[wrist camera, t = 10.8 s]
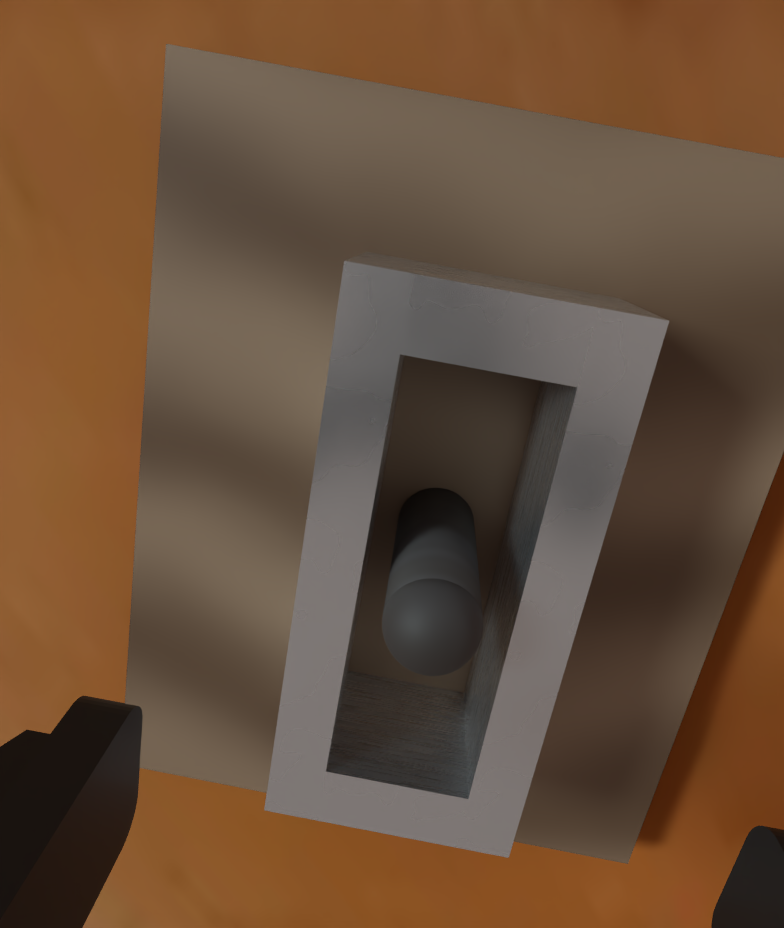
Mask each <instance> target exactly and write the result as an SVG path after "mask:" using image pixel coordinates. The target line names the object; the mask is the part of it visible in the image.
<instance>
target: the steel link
mask: <svg viewBox="0 0 784 928" xmlns="http://www.w3.org/2000/svg"><path fill="white" fill-rule="evenodd" d="M668 324H669V320H667V319H664V318H662V317H660V316H658V315H655V314H653V313H651V312H649V311H646V310H644V309H642V308H640V307H637V306H635V305H633V304H631V303H628V302H626V301H624V300H622V299H619V298H615V297H609V296H604V295H598V294H593V293H588V292H582V291H577V290H571V289H566V288H560V287H555V286H550V285H544V284H539V283H533V282H528V281H522V280H517V279H512V278H506V277H501V276H495V275H490V274H484V273H479V272H474V271H468V270H463V269H457V268H452V267H447V266H441V265H436V264H430V263H425V262H419V261H414V260H409V259H403V258H398V257H392V256H387V255H381V254H376V253H371V252H366V253H363V254H360V255H358V256H355V257H353V258H350V259H347V260H345V261H344V266H343V273H342V279H341V286H340V293H339V300H338V307H337V314H336V321H335V328H334V334H333V341H332V348H331V355H330V362H329V369H328V376H327V383H326V389H325V396H324V403H323V410H322V417H321V424H320V431H319V438H318V445H317V451H316V458H315V465H314V472H313V479H312V486H311V493H310V500H309V506H308V513H307V520H306V527H305V534H304V541H303V548H302V555H301V561H300V568H299V575H298V582H297V589H296V596H295V603H294V610H293V616H292V623H291V630H290V637H289V644H288V651H287V658H286V665H285V671H284V678H283V685H282V692H281V699H280V706H279V713H278V720H277V727H276V733H275V740H274V747H273V754H272V761H271V768H270V775H269V782H268V788H267V795H266V802H265V809H264V810H266V811H271V812H276V813H281V814H286V815H292V816H297V817H302V818H307V819H312V820H317V821H322V822H328V823H333V824H338V825H343V826H348V827H353V828H358V829H364V830H369V831H374V832H379V833H384V834H389V835H394V836H400V837H405V838H410V839H415V840H420V841H425V842H430V843H436V844H441V845H446V846H451V847H456V848H461V849H467V850H472V851H477V852H482V853H487V854H492V855H497V856H503V857H508V858H509V855H510V851H511V848H512V845H513V841H514V838H515V835H516V831H517V828H518V825H519V821H520V818H521V815H522V811H523V808H524V805H525V801H526V798H527V795H528V791H529V788H530V785H531V781H532V778H533V774H534V771H535V768H536V764H537V761H538V758H539V754H540V751H541V748H542V744H543V741H544V738H545V734H546V731H547V728H548V724H549V721H550V718H551V714H552V711H553V708H554V704H555V701H556V698H557V694H558V691H559V688H560V684H561V681H562V678H563V674H564V671H565V668H566V664H567V661H568V658H569V654H570V651H571V648H572V644H573V641H574V638H575V634H576V631H577V628H578V624H579V621H580V618H581V614H582V611H583V607H584V604H585V601H586V597H587V594H588V591H589V587H590V584H591V581H592V577H593V574H594V571H595V567H596V564H597V561H598V557H599V554H600V551H601V547H602V544H603V541H604V537H605V534H606V531H607V527H608V524H609V521H610V517H611V514H612V511H613V507H614V504H615V501H616V497H617V494H618V491H619V487H620V484H621V481H622V477H623V474H624V471H625V467H626V464H627V461H628V457H629V454H630V450H631V447H632V444H633V440H634V437H635V434H636V430H637V427H638V424H639V420H640V417H641V414H642V410H643V407H644V404H645V400H646V397H647V394H648V390H649V387H650V384H651V380H652V377H653V374H654V370H655V367H656V364H657V360H658V357H659V354H660V350H661V347H662V344H663V340H664V337H665V334H666V330H667V327H668ZM405 355H406V356H411V357H417V358H422V359H427V360H433V361H438V362H444V363H449V364H454V365H460V366H465V367H470V368H476V369H481V370H487V371H492V372H497V373H503V374H508V375H513V376H519V377H524V378H530V379H535V380H540V381H541V384H540V389H539V393H538V397H537V401H536V405H535V409H534V413H533V417H532V421H531V425H530V429H529V433H528V437H527V441H526V445H525V449H524V453H523V457H522V461H521V465H520V469H519V473H518V478H517V482H516V486H515V490H514V494H513V498H512V502H511V506H510V510H509V514H508V518H507V522H506V526H505V530H504V534H503V538H502V542H501V546H500V550H499V554H498V558H497V562H496V567H495V571H494V575H493V579H492V583H491V587H490V591H489V595H488V599H487V603H486V607H485V611H484V615H483V633H482V638H481V641H480V644H479V647H478V649H477V651H476V652H475V654H474V655H473V660H472V664H471V668H470V672H469V676H468V680H467V684H466V688H465V692H464V693H463V692H458V691H452V690H447V689H442V688H437V687H431V686H426V685H421V684H416V683H411V682H405V681H400V680H395V679H390V678H385V677H379V676H374V675H369V674H364V673H358V672H353V671H348V667H349V662H350V656H351V651H352V645H353V640H354V634H355V629H356V623H357V618H358V612H359V606H360V601H361V595H362V590H363V584H364V579H365V573H366V568H367V562H368V556H369V551H370V545H371V540H372V534H373V529H374V523H375V518H376V512H377V507H378V501H379V495H380V490H381V484H382V479H383V473H384V468H385V462H386V457H387V451H388V446H389V440H390V434H391V429H392V423H393V418H394V412H395V407H396V401H397V396H398V390H399V384H400V379H401V373H402V368H403V362H404V357H405Z"/></svg>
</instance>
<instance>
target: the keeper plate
mask: <svg viewBox="0 0 784 928" xmlns="http://www.w3.org/2000/svg"><path fill="white" fill-rule="evenodd" d="M366 252H371V253H376V254H381V255H387V256H392V257H398V258H403V259H409V260H414V261H419V262H425V263H430V264H436V265H441V266H447V267H452V268H457V269H463V270H468V271H474V272H479V273H484V274H490V275H495V276H501V277H506V278H512V279H517V280H522V281H528V282H533V283H539V284H544V285H550V286H555V287H560V288H566V289H571V290H577V291H582V292H588V293H593V294H598V295H604V296H609V297H615V298H619V299H622V300H624V301H626V302H628V303H631V304H633V305H635V306H637V307H640V308H642V309H644V310H646V311H649V312H651V313H653V314H655V315H658V316H660V317H662V318H664V319H667V320H669V324H668V327H667V330H666V334H665V337H664V340H663V344H662V347H661V350H660V354H659V357H658V360H657V364H656V367H655V370H654V374H653V377H652V380H651V384H650V387H649V390H648V394H647V397H646V400H645V404H644V407H643V410H642V414H641V417H640V420H639V424H638V427H637V430H636V434H635V437H634V440H633V444H632V447H631V450H630V454H629V457H628V461H627V464H626V467H625V471H624V474H623V477H622V481H621V484H620V487H619V491H618V494H617V497H616V501H615V504H614V507H613V511H612V514H611V517H610V521H609V524H608V527H607V531H606V534H605V537H604V541H603V544H602V547H601V551H600V554H599V557H598V561H597V564H596V567H595V571H594V574H593V577H592V581H591V584H590V587H589V591H588V594H587V597H586V601H585V604H584V607H583V611H582V614H581V618H580V621H579V624H578V628H577V631H576V634H575V638H574V641H573V644H572V648H571V651H570V654H569V658H568V661H567V664H566V668H565V671H564V674H563V678H562V681H561V684H560V688H559V691H558V694H557V698H556V701H555V704H554V708H553V711H552V714H551V718H550V721H549V724H548V728H547V731H546V734H545V738H544V741H543V744H542V748H541V751H540V754H539V758H538V761H537V764H536V768H535V771H534V774H533V778H532V781H531V785H530V788H529V791H528V795H527V798H526V801H525V805H524V808H523V811H522V815H521V818H520V821H519V825H518V828H517V831H516V835H515V838H514V841H515V842H520V843H525V844H530V845H535V846H540V847H545V848H550V849H555V850H560V851H566V852H571V853H576V854H581V855H586V856H591V857H596V858H601V859H606V860H611V861H616V862H621V863H627V864H628V862H629V859H630V856H631V854H632V851H633V848H634V846H635V843H636V841H637V838H638V835H639V833H640V830H641V827H642V825H643V822H644V819H645V817H646V814H647V811H648V809H649V806H650V804H651V801H652V798H653V796H654V793H655V790H656V788H657V785H658V782H659V780H660V777H661V774H662V772H663V769H664V767H665V764H666V761H667V759H668V756H669V753H670V751H671V748H672V745H673V743H674V740H675V737H676V735H677V732H678V730H679V727H680V724H681V722H682V719H683V716H684V714H685V711H686V708H687V706H688V703H689V700H690V698H691V695H692V693H693V690H694V687H695V685H696V682H697V679H698V677H699V674H700V671H701V669H702V666H703V663H704V661H705V658H706V656H707V653H708V650H709V648H710V645H711V642H712V640H713V637H714V634H715V632H716V629H717V626H718V624H719V621H720V619H721V616H722V613H723V611H724V608H725V605H726V603H727V600H728V597H729V595H730V592H731V589H732V587H733V584H734V582H735V579H736V576H737V574H738V571H739V568H740V566H741V563H742V560H743V558H744V555H745V552H746V550H747V547H748V545H749V542H750V539H751V537H752V534H753V531H754V529H755V526H756V523H757V521H758V518H759V515H760V513H761V510H762V508H763V505H764V502H765V500H766V497H767V494H768V492H769V489H770V486H771V484H772V481H773V478H774V476H775V473H776V471H777V468H778V465H779V463H780V460H781V457H782V455H783V452H784V158H780V157H775V156H769V155H764V154H758V153H753V152H748V151H742V150H737V149H731V148H726V147H721V146H715V145H710V144H704V143H699V142H694V141H688V140H683V139H677V138H672V137H667V136H661V135H656V134H650V133H645V132H640V131H634V130H629V129H623V128H618V127H613V126H607V125H602V124H596V123H591V122H585V121H580V120H575V119H569V118H564V117H558V116H553V115H548V114H542V113H537V112H531V111H526V110H521V109H515V108H510V107H504V106H499V105H494V104H488V103H483V102H477V101H472V100H467V99H461V98H456V97H450V96H445V95H440V94H434V93H429V92H423V91H418V90H413V89H407V88H402V87H396V86H391V85H386V84H380V83H375V82H369V81H364V80H359V79H353V78H348V77H342V76H337V75H332V74H326V73H321V72H315V71H310V70H305V69H299V68H294V67H288V66H283V65H278V64H272V63H267V62H261V61H256V60H251V59H245V58H240V57H234V56H229V55H224V54H218V53H213V52H207V51H202V50H197V49H191V48H186V47H180V46H175V45H170V44H166V55H165V71H164V87H163V103H162V119H161V135H160V151H159V167H158V183H157V199H156V215H155V231H154V247H153V263H152V279H151V295H150V311H149V327H148V343H147V359H146V375H145V391H144V407H143V423H142V439H141V455H140V471H139V487H138V503H137V519H136V535H135V551H134V567H133V583H132V599H131V615H130V631H129V647H128V663H127V679H126V695H125V704H130V705H136V706H139V707H141V709H142V715H143V719H142V736H141V752H140V768H144V769H149V770H154V771H159V772H164V773H169V774H174V775H179V776H184V777H189V778H195V779H200V780H205V781H210V782H215V783H220V784H225V785H230V786H235V787H240V788H245V789H250V790H256V791H261V792H266V793H267V788H268V782H269V775H270V768H271V761H272V754H273V747H274V740H275V733H276V727H277V720H278V713H279V706H280V699H281V692H282V685H283V678H284V671H285V665H286V658H287V651H288V644H289V637H290V630H291V623H292V616H293V610H294V603H295V596H296V589H297V582H298V575H299V568H300V561H301V555H302V548H303V541H304V534H305V527H306V520H307V513H308V506H309V500H310V493H311V486H312V479H313V472H314V465H315V458H316V451H317V445H318V438H319V431H320V424H321V417H322V410H323V403H324V396H325V389H326V383H327V376H328V369H329V362H330V355H331V348H332V341H333V334H334V328H335V321H336V314H337V307H338V300H339V293H340V286H341V279H342V273H343V266H344V261H345V260H347V259H350V258H353V257H355V256H358V255H360V254H363V253H366ZM540 384H541V381H540V380H535V379H530V378H524V377H519V376H513V375H508V374H503V373H497V372H492V371H487V370H481V369H476V368H470V367H465V366H460V365H454V364H449V363H444V362H438V361H433V360H427V359H422V358H417V357H411V356H406V355H405V357H404V362H403V368H402V373H401V379H400V384H399V390H398V396H397V401H396V407H395V412H394V418H393V423H392V429H391V434H390V440H389V446H388V451H387V457H386V462H385V468H384V473H383V479H382V484H381V490H380V495H379V501H378V507H377V512H376V518H375V523H374V529H373V534H372V540H371V545H370V551H369V556H368V562H367V568H366V573H365V579H364V584H363V590H362V595H361V601H360V606H359V612H358V618H357V623H356V629H355V634H354V640H353V645H352V651H351V656H350V662H349V667H348V671H353V672H358V673H364V674H369V675H374V676H379V677H385V678H390V679H395V680H400V681H405V682H411V683H416V684H421V685H426V686H431V687H437V688H442V689H447V690H452V691H458V692H463V693H464V692H465V688H466V684H467V680H468V676H469V672H470V668H471V664H472V660H473V655H474V654H475V652H476V651H477V649H478V647H479V644H480V641H481V638H482V633H483V615H484V611H485V607H486V603H487V599H488V595H489V591H490V587H491V583H492V579H493V575H494V571H495V567H496V562H497V558H498V554H499V550H500V546H501V542H502V538H503V534H504V530H505V526H506V522H507V518H508V514H509V510H510V506H511V502H512V498H513V494H514V490H515V486H516V482H517V478H518V473H519V469H520V465H521V461H522V457H523V453H524V449H525V445H526V441H527V437H528V433H529V429H530V425H531V421H532V417H533V413H534V409H535V405H536V401H537V397H538V393H539V389H540Z"/></svg>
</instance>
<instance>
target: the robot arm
mask: <svg viewBox="0 0 784 928" xmlns="http://www.w3.org/2000/svg"><path fill="white" fill-rule="evenodd" d="M142 719H143V715H142V709H141V707H139V706H136V705H130V704H125V703H120V702H115V701H109V700H104V699H99V698H93V697H88V696H82V697H80V698H78V699H77V700H76V701H75V702H74V703H73V705H72V706H71V707H70V709H69V710H68V711H67V713H66V714H65V715H64V717H63V718H62V719H61V721H60V722H59V723H58V725H57V726H56V727H55V729H54V730H53V731H52V733H51V734H47V733H41V732H36V731H31V730H26V731H24V732H22V733H21V734H19V735H18V736H16V737H15V738H13V739H12V740H10V741H9V742H7V743H5V744H4V745H2V746H1V747H0V928H82V927H83V925H84V923H85V921H86V919H87V917H88V915H89V913H90V911H91V909H92V908H93V906H94V904H95V902H96V900H97V898H98V896H99V894H100V892H101V890H102V888H103V886H104V884H105V882H106V880H107V878H108V876H109V874H110V872H111V870H112V868H113V866H114V864H115V862H116V860H117V858H118V856H119V854H120V852H121V850H122V848H123V846H124V843H125V841H126V838H127V836H128V833H129V830H130V827H131V824H132V820H133V817H134V813H135V809H136V804H137V797H138V784H139V768H140V752H141V736H142ZM712 928H784V830H781V829H776V828H771V827H765V826H757V827H755V828H753V829H752V830H751V831H750V832H749V834H748V836H747V838H746V840H745V842H744V844H743V847H742V849H741V851H740V853H739V855H738V858H737V860H736V862H735V864H734V866H733V869H732V871H731V873H730V875H729V878H728V880H727V882H726V884H725V886H724V889H723V891H722V893H721V895H720V897H719V900H718V902H717V904H716V907H715V909H714V913H713V918H712Z"/></svg>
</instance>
